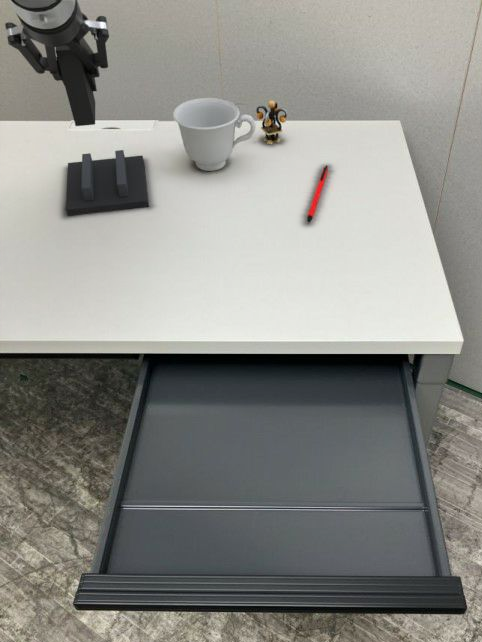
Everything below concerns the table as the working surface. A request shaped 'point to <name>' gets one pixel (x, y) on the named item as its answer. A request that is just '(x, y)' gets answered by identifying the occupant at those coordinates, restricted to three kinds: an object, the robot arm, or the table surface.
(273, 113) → the figurine
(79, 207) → the base pad
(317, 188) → the pen
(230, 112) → the teacup
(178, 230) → the table surface
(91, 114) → the foam pad
